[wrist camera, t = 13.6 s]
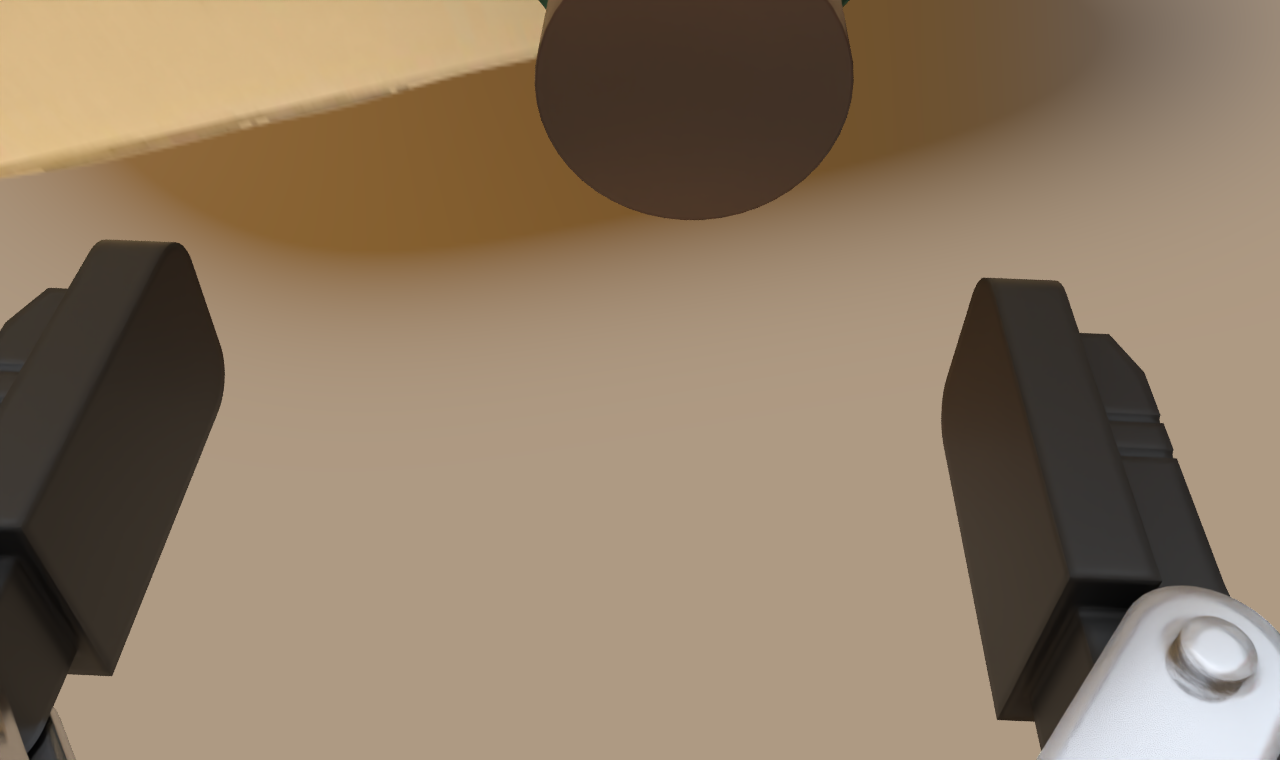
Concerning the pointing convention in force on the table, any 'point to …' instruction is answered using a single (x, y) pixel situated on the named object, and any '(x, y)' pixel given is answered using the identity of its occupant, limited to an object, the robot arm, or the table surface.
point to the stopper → (693, 98)
